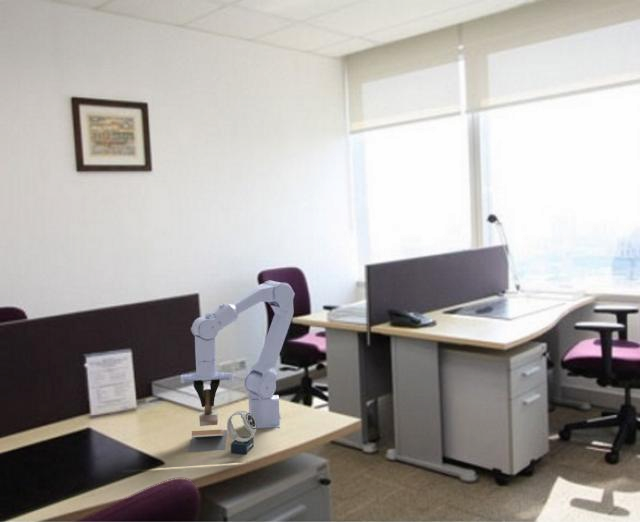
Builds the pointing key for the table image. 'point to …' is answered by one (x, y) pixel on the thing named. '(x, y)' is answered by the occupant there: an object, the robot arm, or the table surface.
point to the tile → (207, 433)
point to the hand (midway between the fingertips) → (208, 405)
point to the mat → (208, 443)
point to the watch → (241, 443)
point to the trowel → (208, 411)
